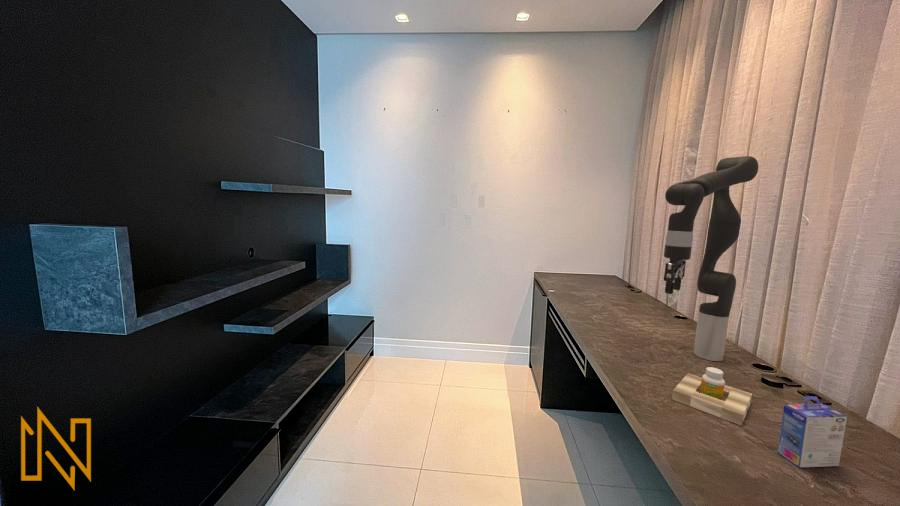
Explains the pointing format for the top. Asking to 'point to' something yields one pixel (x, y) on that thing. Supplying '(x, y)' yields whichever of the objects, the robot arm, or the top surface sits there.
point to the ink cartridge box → (812, 434)
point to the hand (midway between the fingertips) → (672, 291)
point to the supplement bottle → (713, 383)
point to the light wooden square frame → (713, 400)
